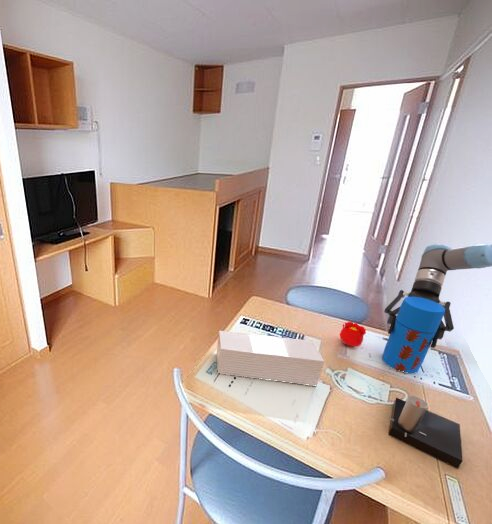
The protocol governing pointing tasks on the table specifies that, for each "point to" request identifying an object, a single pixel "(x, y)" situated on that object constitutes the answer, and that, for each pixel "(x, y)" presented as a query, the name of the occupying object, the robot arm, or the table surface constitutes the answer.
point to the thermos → (412, 333)
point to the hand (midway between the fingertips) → (410, 339)
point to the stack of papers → (268, 357)
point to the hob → (430, 435)
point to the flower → (352, 334)
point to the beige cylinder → (412, 414)
